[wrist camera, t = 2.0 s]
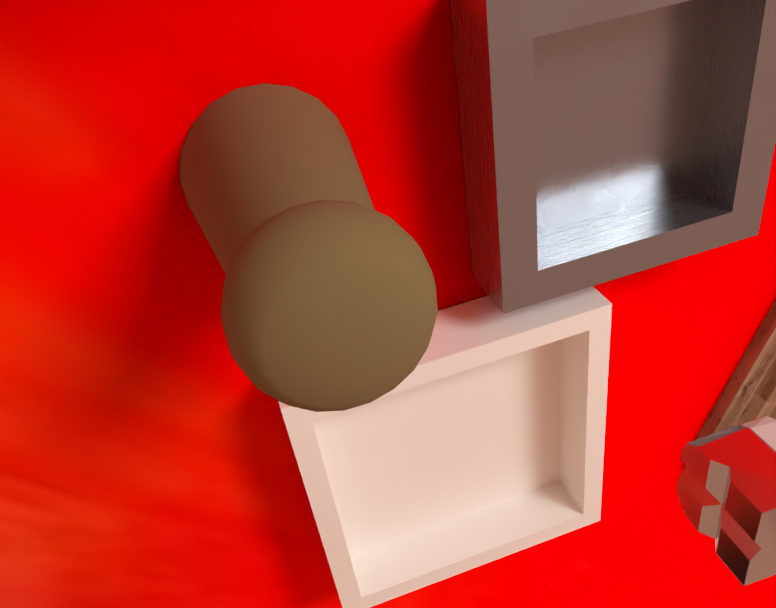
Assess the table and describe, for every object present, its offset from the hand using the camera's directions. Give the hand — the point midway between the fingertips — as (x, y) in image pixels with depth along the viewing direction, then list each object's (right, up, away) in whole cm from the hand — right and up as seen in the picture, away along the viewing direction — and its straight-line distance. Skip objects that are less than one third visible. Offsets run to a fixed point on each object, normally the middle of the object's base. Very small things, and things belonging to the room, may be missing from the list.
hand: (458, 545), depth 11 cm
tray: (+2, -2, +23) cm, 23 cm away
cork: (-5, +9, +13) cm, 17 cm away
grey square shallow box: (+7, +11, +16) cm, 21 cm away
